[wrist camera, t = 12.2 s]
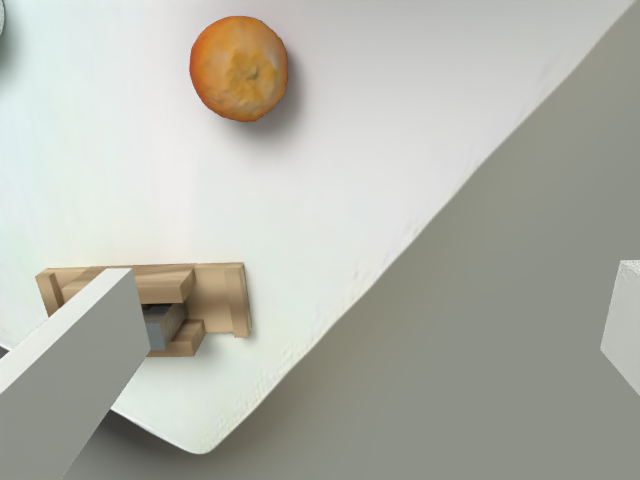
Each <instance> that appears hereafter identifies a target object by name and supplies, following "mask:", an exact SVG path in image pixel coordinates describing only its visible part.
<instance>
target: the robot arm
mask: <svg viewBox="0 0 640 480" xmlns="http://www.w3.org/2000/svg"><path fill="white" fill-rule="evenodd" d="M150 350H151V347H150V343H149V339H148V334H147V330H146V326H145V321H144V317H143V313H142V308H141V304H140V300H139V295H138V291H137V287H136V282H135V278H134V274H133V269H132V268H106V269H105V270H104V271H103V272H102V273H100V274H99V275H98V276H97V277H96V278H95V279H93V280H92V281H91V282H90V283H89V284H88V285H86V286H85V287H84V288H83V289H82V290H81V291H79V292H78V293H77V294H76V295H75V296H74V297H72V298H71V299H70V300H69V301H68V302H67V303H65V304H64V305H63V306H62V307H61V308H60V309H58V310H57V311H56V312H55V313H54V314H53V315H51V316H50V317H49V318H48V319H47V320H46V321H44V322H43V323H42V324H41V325H40V326H39V327H37V328H36V329H35V330H34V331H33V332H32V333H30V334H29V335H28V336H27V337H26V338H25V339H23V340H22V341H21V342H20V343H19V344H18V345H16V346H15V347H14V348H13V349H12V350H11V351H9V353H7V354H6V355H5V356H4V357H3V358H1V359H0V480H61V479H62V477H63V476H64V474H65V473H66V472H67V470H68V469H69V467H70V466H71V464H72V463H73V461H74V460H75V458H76V457H77V455H78V454H79V453H80V451H81V450H82V448H83V447H84V446H85V444H86V443H87V441H88V440H89V438H90V437H91V435H92V434H93V432H94V431H95V430H96V428H97V427H98V425H99V424H100V422H101V421H102V419H103V418H104V417H105V415H106V414H107V412H108V411H109V409H110V408H111V406H112V405H113V404H114V402H115V401H116V399H117V398H118V396H119V395H120V393H121V392H122V390H123V389H124V388H125V386H126V385H127V383H128V382H129V380H130V379H131V377H132V376H133V375H134V373H135V372H136V370H137V369H138V367H139V366H140V364H141V363H142V362H143V360H144V359H145V357H146V356H147V354H148V353H149V351H150ZM600 350H601V351H602V352H603V353H604V354H605V356H606V357H607V358H608V359H609V360H610V362H611V363H612V364H613V365H614V366H615V367H616V369H617V370H618V371H619V372H620V373H621V374H622V376H623V377H624V378H625V379H626V380H627V382H628V383H629V384H630V385H631V386H632V387H633V389H634V390H635V391H636V392H637V393H638V395H639V396H640V260H623V261H620V263H619V267H618V272H617V276H616V281H615V285H614V290H613V294H612V299H611V303H610V307H609V312H608V316H607V321H606V326H605V330H604V334H603V339H602V343H601V348H600Z"/></svg>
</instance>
